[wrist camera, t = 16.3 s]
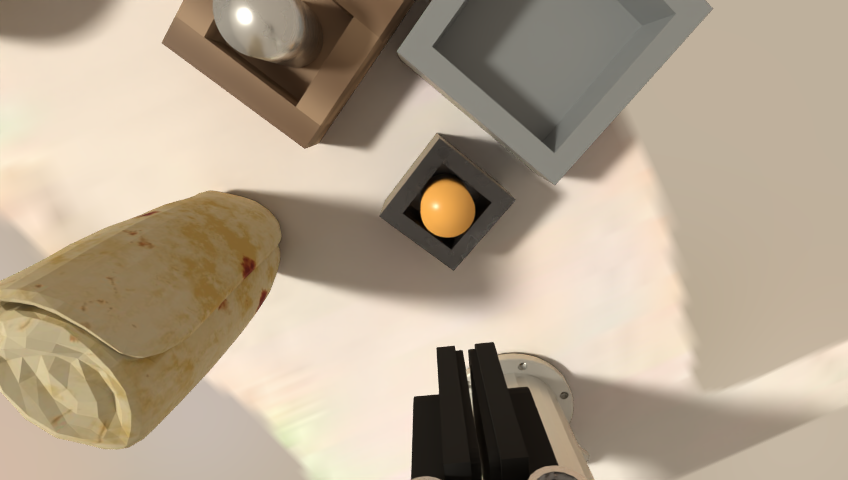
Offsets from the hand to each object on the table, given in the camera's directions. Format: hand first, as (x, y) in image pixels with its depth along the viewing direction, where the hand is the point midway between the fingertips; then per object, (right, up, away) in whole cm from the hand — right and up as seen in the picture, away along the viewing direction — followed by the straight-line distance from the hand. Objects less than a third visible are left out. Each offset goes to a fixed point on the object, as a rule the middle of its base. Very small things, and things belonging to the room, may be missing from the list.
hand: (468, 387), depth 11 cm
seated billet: (-11, +19, +17) cm, 28 cm away
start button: (0, +8, +20) cm, 22 cm away
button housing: (0, +8, +22) cm, 23 cm away
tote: (+7, +19, +18) cm, 27 cm away
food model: (-16, +5, +23) cm, 29 cm away
